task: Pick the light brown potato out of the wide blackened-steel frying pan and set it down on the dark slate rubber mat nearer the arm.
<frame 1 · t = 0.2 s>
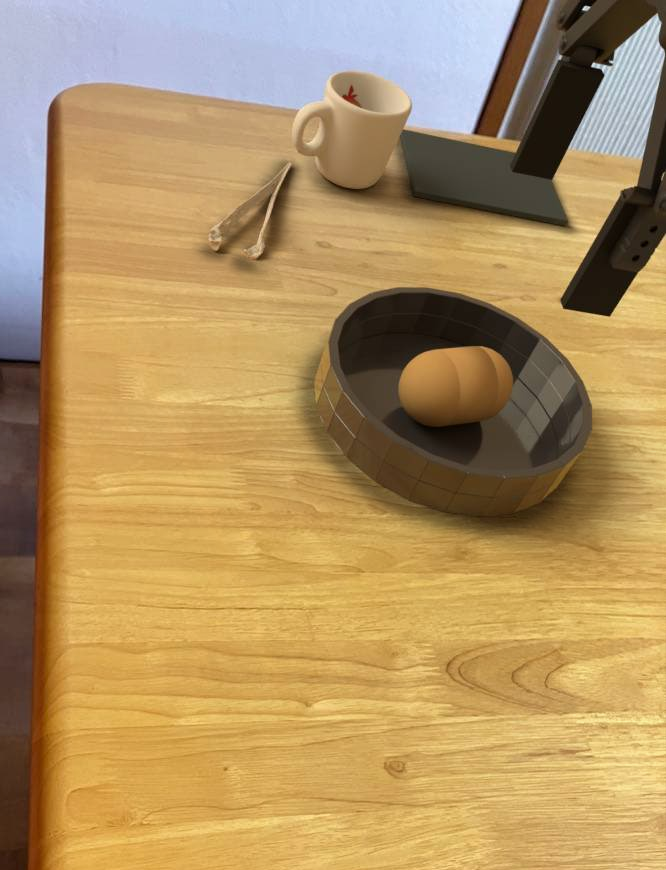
hand: (555, 235, 51), 17 cm above the table, tool pointing down, fingers open, 13 cm apart
cup: (331, 177, 84), on the table
potato: (441, 413, 65), point 1 cm above the table, touching pan
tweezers: (261, 210, 78), on the table
pan: (438, 419, 66), on the table
mat: (480, 179, 90), on the table
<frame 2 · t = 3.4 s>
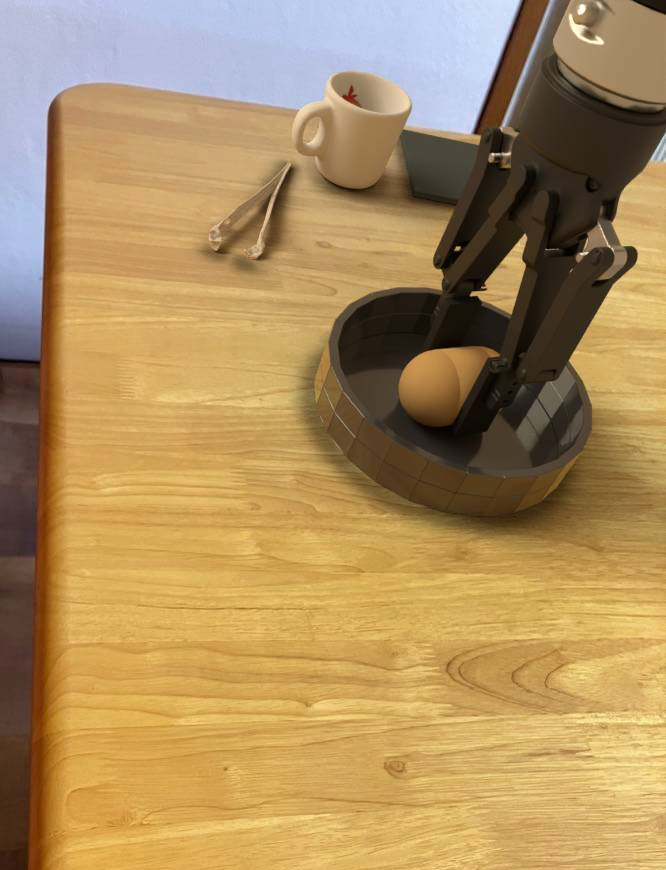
hand: (449, 399, 64), 2 cm above the table, tool pointing down, fingers closed on potato, 5 cm apart
potato: (442, 413, 65), point 1 cm above the table, touching gripper, pan
everything else where it was.
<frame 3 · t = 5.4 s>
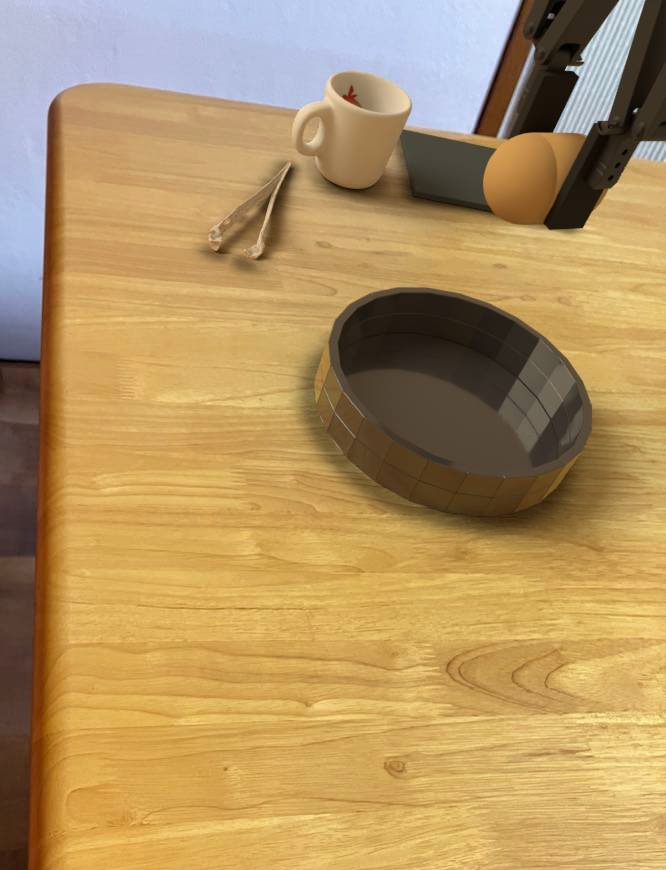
hand: (538, 197, 57), 15 cm above the table, tool pointing down, fingers closed on potato, 5 cm apart
potato: (528, 216, 59), point 14 cm above the table, touching gripper
everything else where it was.
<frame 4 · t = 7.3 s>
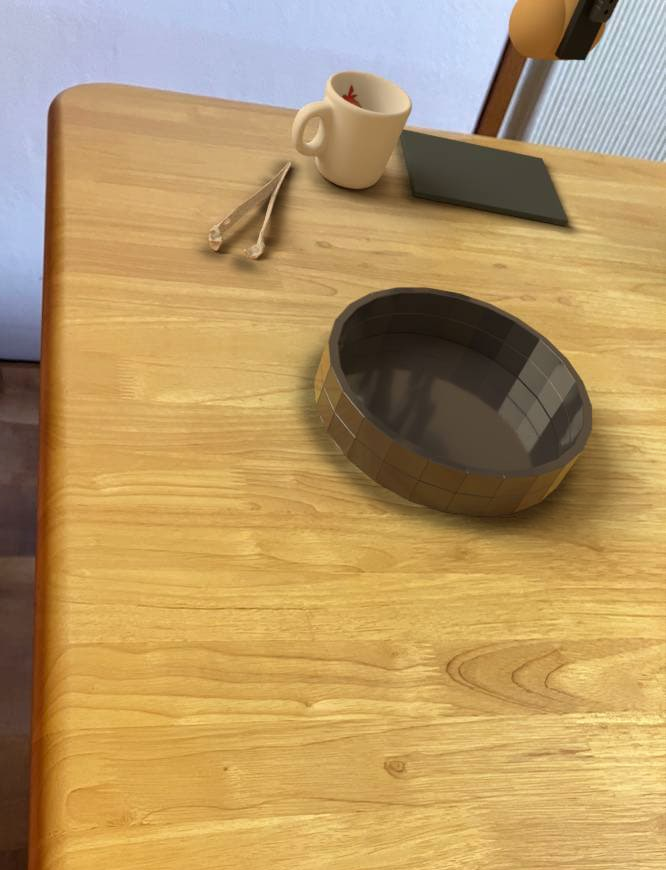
hand: (550, 39, 75), 16 cm above the table, tool pointing down, fingers closed on potato, 5 cm apart
potato: (542, 56, 76), point 14 cm above the table, touching gripper
everything else where it was.
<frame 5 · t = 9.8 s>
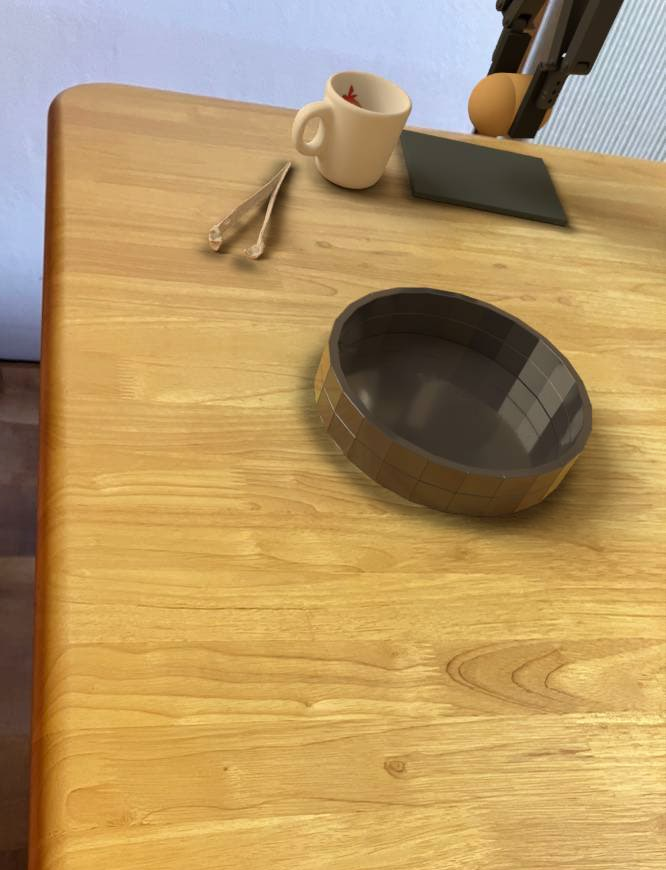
hand: (505, 118, 85), 6 cm above the table, tool pointing down, fingers closed on potato, 5 cm apart
potato: (498, 132, 86), point 5 cm above the table, touching gripper
everything else where it was.
when the fingers open (2 cm above the table, at t = 11.2 s): potato stays where it is, resting on mat.
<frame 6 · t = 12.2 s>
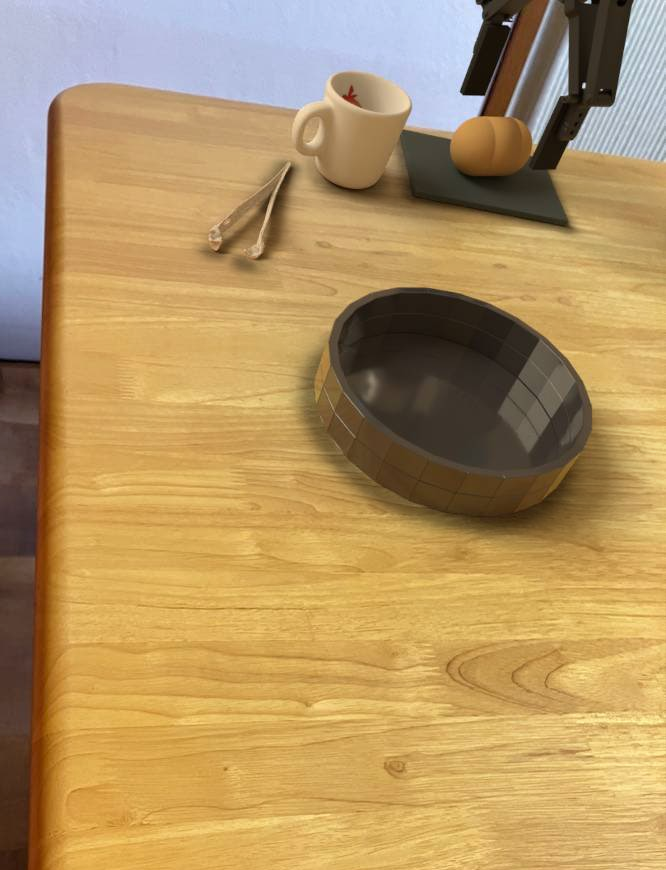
hand: (505, 129, 86), 5 cm above the table, tool pointing down, fingers open, 13 cm apart
potato: (481, 173, 90), point 1 cm above the table, tilted 5°, touching mat
everything else where it was.
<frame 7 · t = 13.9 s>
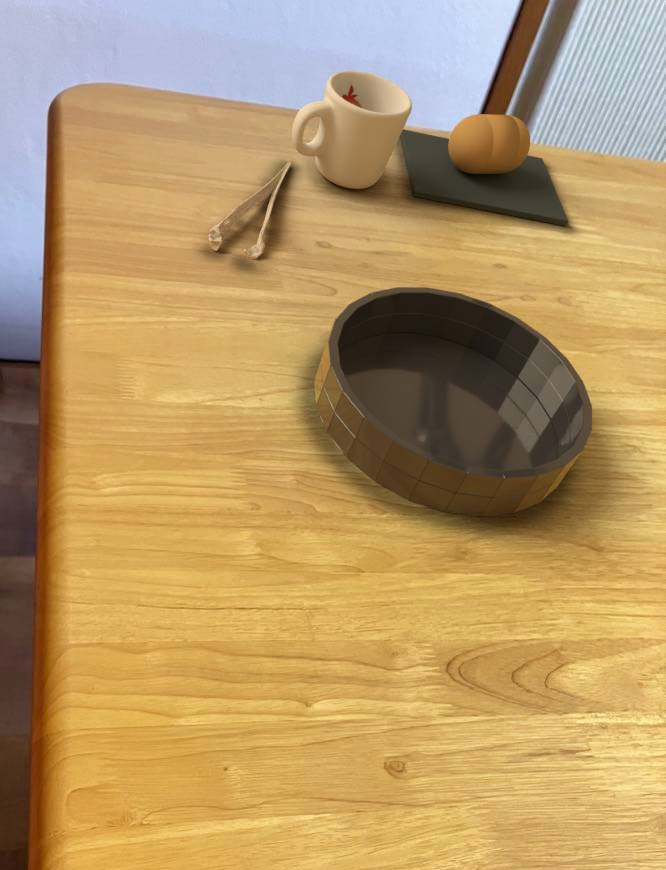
potato: (481, 172, 90), point 1 cm above the table, tilted 14°, touching mat
everything else where it was.
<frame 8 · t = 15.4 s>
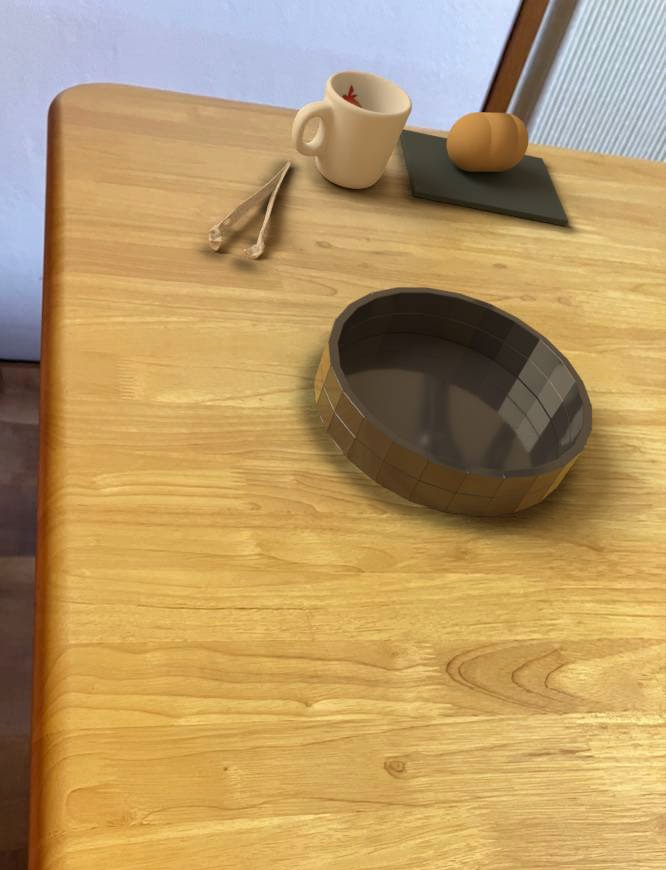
potato: (482, 171, 90), point 1 cm above the table, tilted 22°, touching mat
everything else where it was.
at the end: potato inside the target area on the mat (0.1 cm from its centre), point 0.8 cm above the mat's base; the gripper is holding nothing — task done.
